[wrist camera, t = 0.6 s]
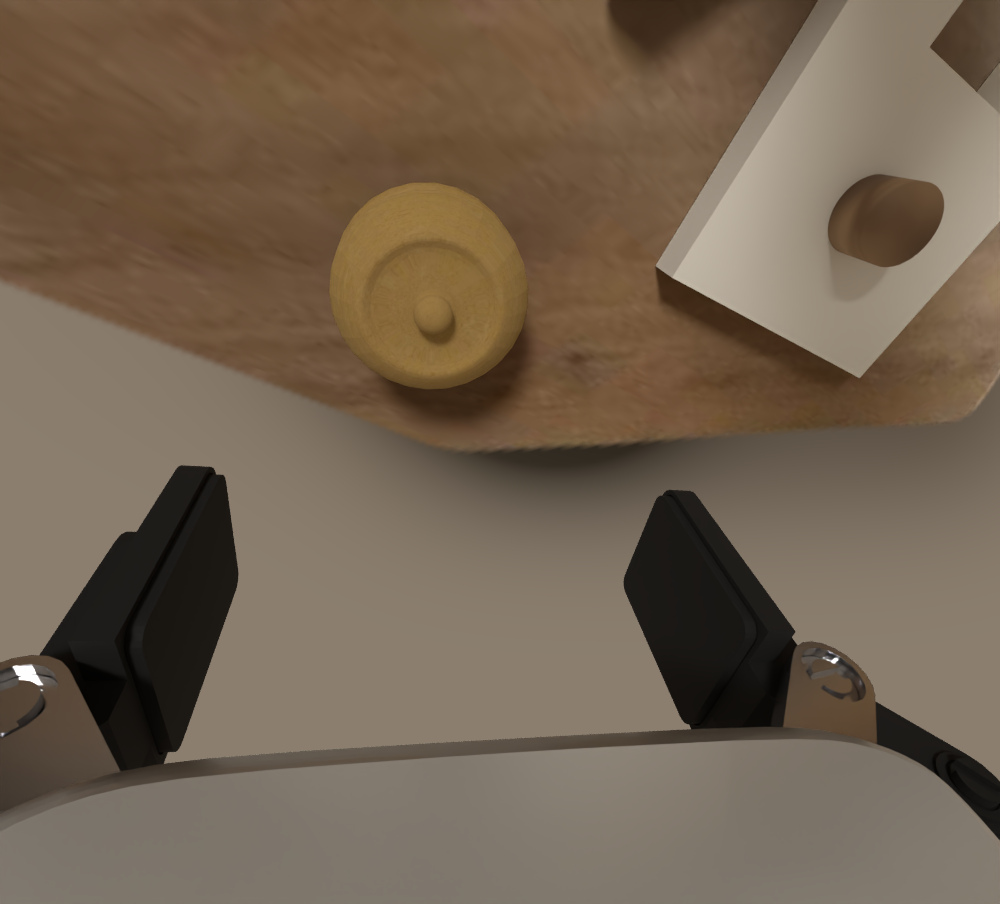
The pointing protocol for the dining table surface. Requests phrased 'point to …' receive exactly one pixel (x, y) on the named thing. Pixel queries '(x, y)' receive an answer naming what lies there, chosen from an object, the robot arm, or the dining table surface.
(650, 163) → the dining table surface
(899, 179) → the brown wooden cylinder
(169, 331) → the dining table surface
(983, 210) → the plate
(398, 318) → the pot
